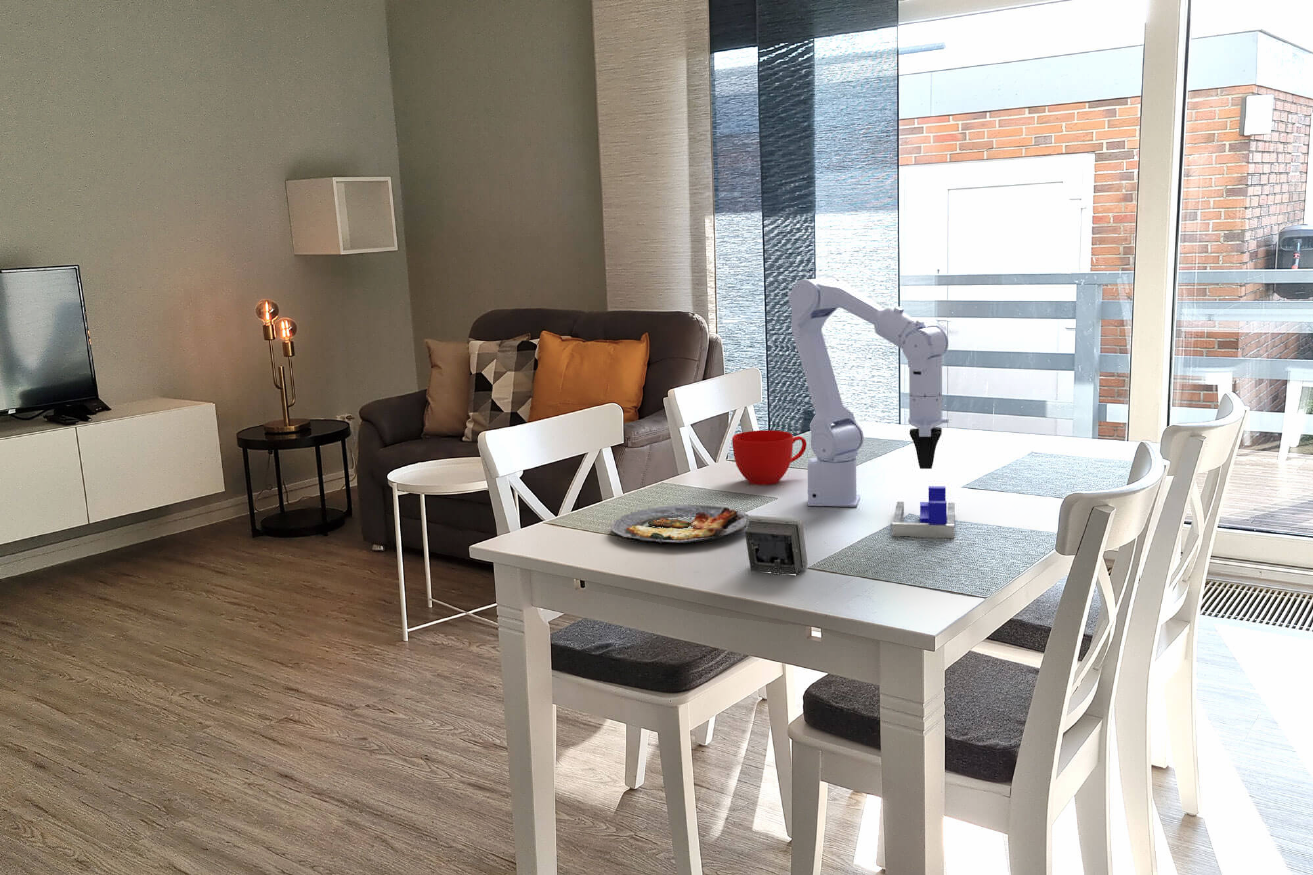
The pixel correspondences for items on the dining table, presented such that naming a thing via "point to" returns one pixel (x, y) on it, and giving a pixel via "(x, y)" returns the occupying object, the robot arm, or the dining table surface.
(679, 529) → the food plate
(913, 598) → the dining table surface
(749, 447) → the ceramic cup
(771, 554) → the electrical switch
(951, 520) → the rail bracket
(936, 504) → the blue stepped block
